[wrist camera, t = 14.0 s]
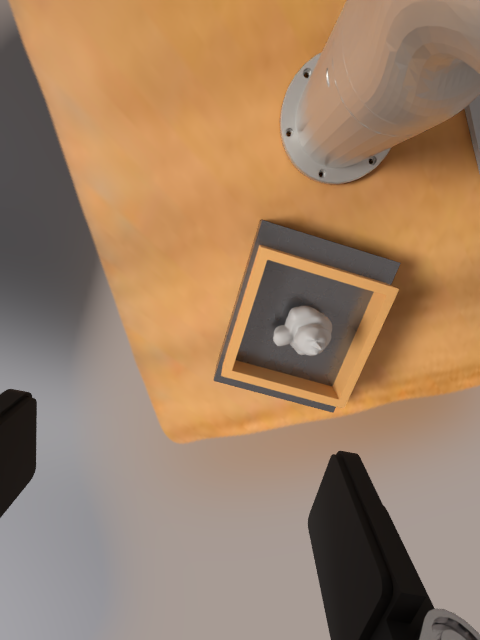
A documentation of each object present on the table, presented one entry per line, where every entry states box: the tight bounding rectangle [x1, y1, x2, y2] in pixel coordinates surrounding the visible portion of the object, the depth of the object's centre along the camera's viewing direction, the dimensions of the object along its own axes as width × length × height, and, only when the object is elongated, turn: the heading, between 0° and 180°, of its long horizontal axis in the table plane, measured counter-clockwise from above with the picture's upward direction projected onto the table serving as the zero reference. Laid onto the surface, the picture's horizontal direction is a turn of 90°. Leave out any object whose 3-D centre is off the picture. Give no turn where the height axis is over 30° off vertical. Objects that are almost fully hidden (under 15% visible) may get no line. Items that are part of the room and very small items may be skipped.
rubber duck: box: [273, 306, 332, 356], centre depth 33 cm, size 5×7×8 cm
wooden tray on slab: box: [214, 220, 401, 412], centre depth 38 cm, size 20×16×7 cm
